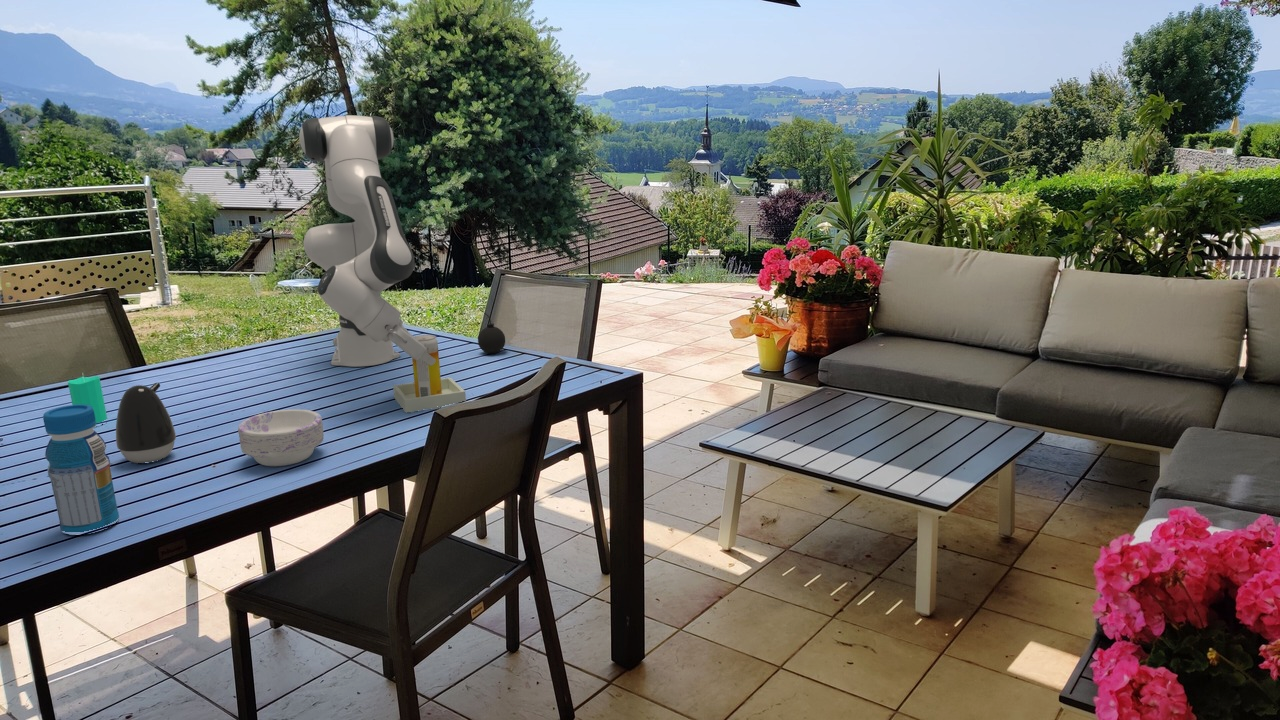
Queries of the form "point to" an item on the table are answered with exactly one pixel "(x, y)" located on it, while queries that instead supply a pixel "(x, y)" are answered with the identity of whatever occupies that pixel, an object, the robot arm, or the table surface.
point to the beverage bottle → (79, 469)
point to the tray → (411, 403)
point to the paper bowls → (281, 436)
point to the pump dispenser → (144, 426)
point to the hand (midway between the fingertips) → (428, 358)
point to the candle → (88, 395)
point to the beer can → (427, 369)
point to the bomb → (491, 339)
